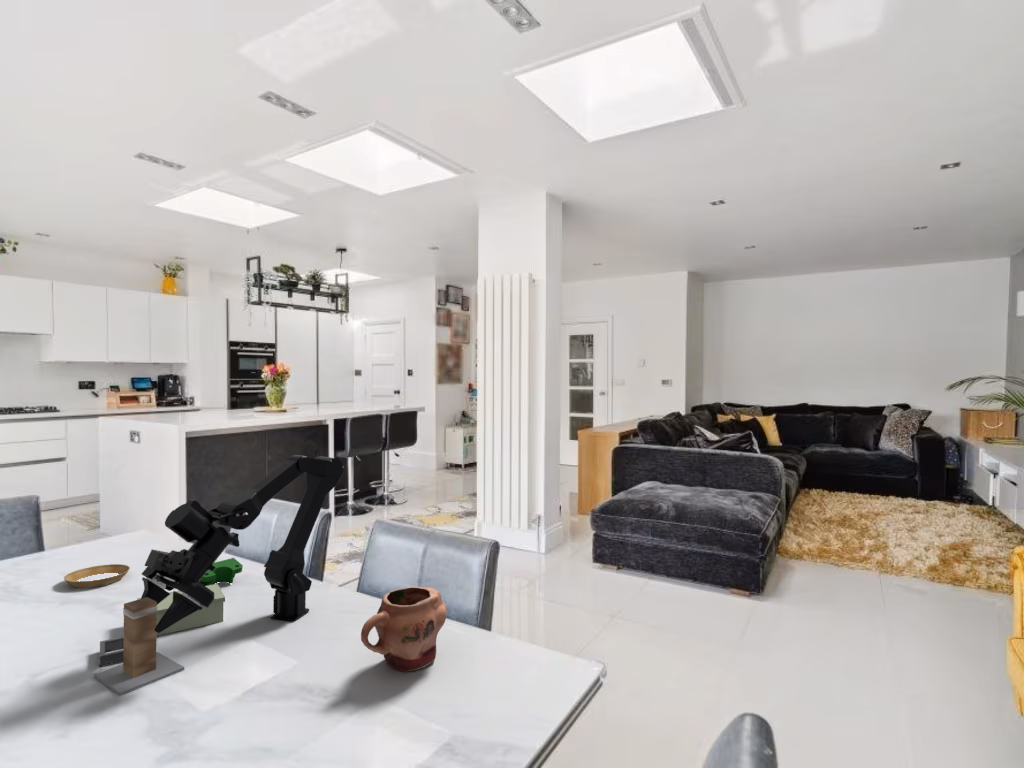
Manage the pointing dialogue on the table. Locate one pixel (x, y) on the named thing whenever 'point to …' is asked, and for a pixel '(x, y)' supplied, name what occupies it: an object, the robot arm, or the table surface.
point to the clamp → (222, 572)
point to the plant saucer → (95, 570)
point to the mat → (125, 683)
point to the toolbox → (198, 617)
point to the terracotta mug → (407, 627)
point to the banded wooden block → (139, 637)
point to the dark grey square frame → (112, 656)
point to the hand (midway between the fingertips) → (144, 625)
